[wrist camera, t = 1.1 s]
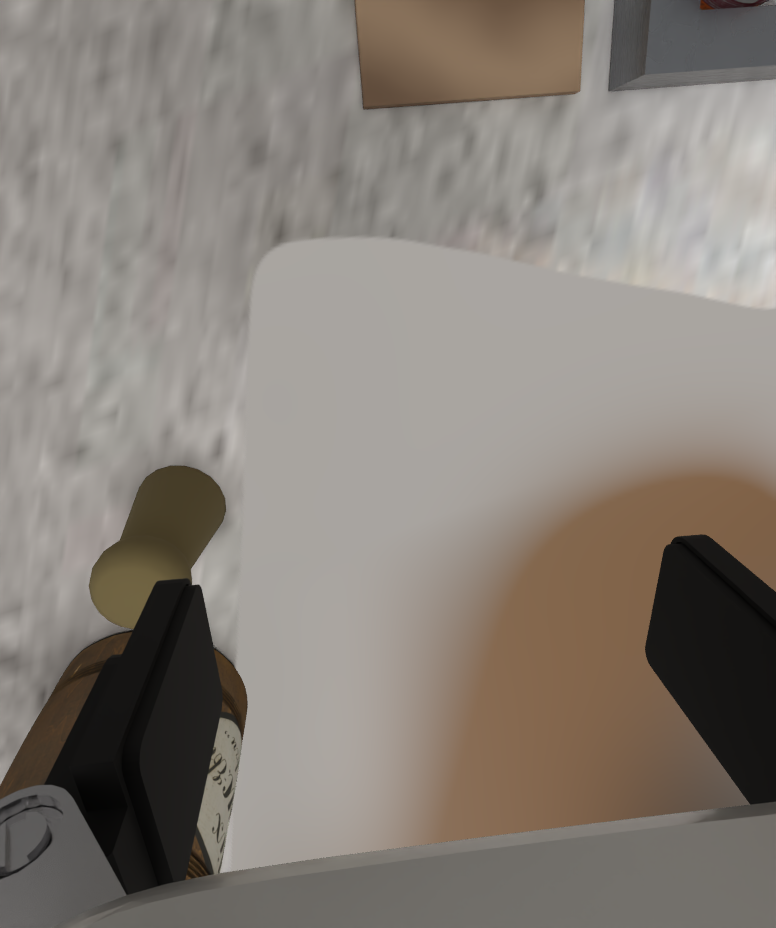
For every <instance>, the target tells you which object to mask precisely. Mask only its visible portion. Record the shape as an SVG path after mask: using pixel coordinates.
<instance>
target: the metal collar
mask: <svg viewBox="0 0 776 928" xmlns="http://www.w3.org/2000/svg"><path fill="white" fill-rule="evenodd" d="M700 3H701V0H615V5H614V20H613V35H612V49H611V64H610V79H609V91H621V90H634V89H648V88H661V87H675V86H689V85H702V84H716V83H729V82H743V81H756V80H770V79H776V5H770V6H755V7H740V8H725V9H709V10H700Z"/></svg>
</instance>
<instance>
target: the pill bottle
mask: <svg viewBox="0 0 776 928" xmlns="http://www.w3.org/2000/svg"><path fill="white" fill-rule="evenodd" d="M766 1H769V0H701V3H700V10H709V9H725V8H740V7H755V6H759V5H761V4H762V3H764V2H766Z"/></svg>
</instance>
